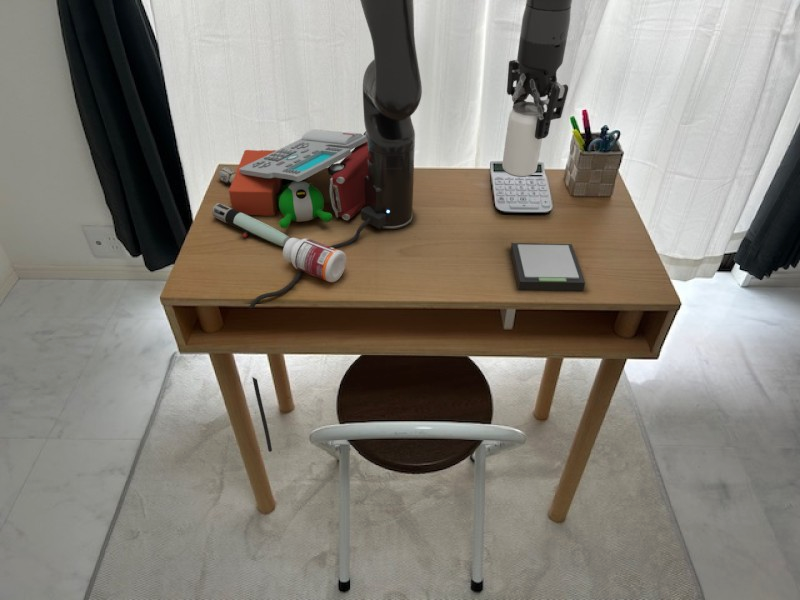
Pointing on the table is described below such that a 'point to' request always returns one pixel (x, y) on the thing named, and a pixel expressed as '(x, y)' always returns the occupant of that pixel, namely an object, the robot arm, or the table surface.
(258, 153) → the brick
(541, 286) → the scale
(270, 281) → the table surface
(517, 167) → the can
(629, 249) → the table surface
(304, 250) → the pill bottle
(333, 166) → the toy car
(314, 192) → the toy
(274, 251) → the table surface
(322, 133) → the office telephone
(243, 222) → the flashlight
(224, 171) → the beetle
